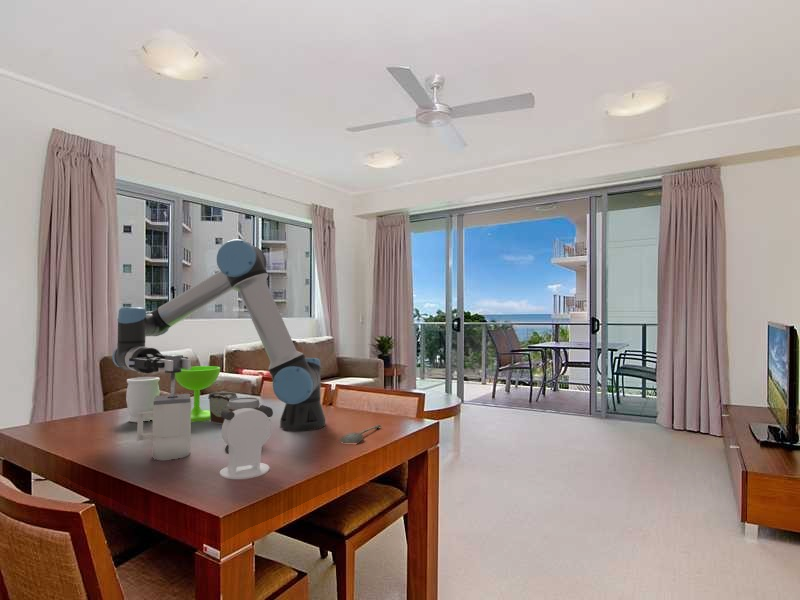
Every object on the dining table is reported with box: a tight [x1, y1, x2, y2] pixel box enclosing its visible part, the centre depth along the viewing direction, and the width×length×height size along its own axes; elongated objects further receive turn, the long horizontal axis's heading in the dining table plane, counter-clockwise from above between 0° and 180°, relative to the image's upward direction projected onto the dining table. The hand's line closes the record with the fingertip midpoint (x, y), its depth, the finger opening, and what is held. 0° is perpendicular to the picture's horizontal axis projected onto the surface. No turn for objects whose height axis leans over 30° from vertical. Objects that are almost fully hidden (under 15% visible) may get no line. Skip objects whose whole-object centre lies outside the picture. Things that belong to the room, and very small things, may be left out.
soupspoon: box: [340, 424, 382, 444], centre depth 146 cm, size 22×3×7 cm
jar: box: [125, 376, 161, 423], centre depth 167 cm, size 11×10×15 cm
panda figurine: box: [219, 404, 274, 480], centre depth 113 cm, size 12×11×15 cm
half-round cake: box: [208, 391, 238, 425], centre depth 165 cm, size 12×6×10 cm, turn 58°
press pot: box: [136, 393, 192, 461], centre depth 124 cm, size 13×9×16 cm
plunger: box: [164, 354, 182, 398], centre depth 126 cm, size 4×4×17 cm
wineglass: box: [175, 365, 221, 423], centre depth 172 cm, size 16×16×18 cm
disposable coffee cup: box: [227, 396, 261, 411], centre depth 141 cm, size 10×10×12 cm
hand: (180, 365), depth 123 cm, fingers closed on plunger, 4 cm apart
